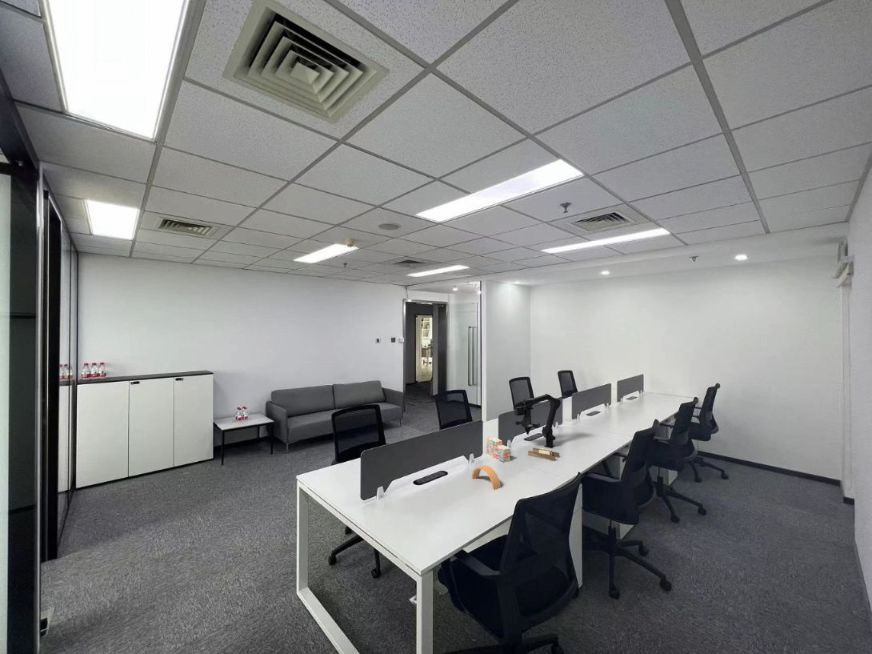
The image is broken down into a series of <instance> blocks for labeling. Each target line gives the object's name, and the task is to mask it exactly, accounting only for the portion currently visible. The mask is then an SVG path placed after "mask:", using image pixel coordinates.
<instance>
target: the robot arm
mask: <svg viewBox="0 0 872 654" xmlns="http://www.w3.org/2000/svg"><path fill="white" fill-rule="evenodd" d="M544 401H548V402H549V413H548V416H547V420H546V424H545V426H542V430H541V434H542V436H543V438H545V445H544V448H548V449H553V448H554V447H556V445H554V441H555V440H556V436H555V435H554V434H553V433H554V431H553V425H554V420H555V418H556V414H557V410H559V408H560V406H561V403H562V402H561V401H562V400H560V398H556V397H553V396H552V395H551V394H549V393H545V394H542V395H539V396H536V397H531V398H524V399H523V400H522V403H521V404H520V405H519V406H515V409H514V411H513V413H514V416H515V417H517V416H518V417H520V416H523V417H522V419H517V420H516V421H515V425H516V426H519V425H521V427H522V428H523V429H524V430H525V433H526V436H529V434H530V431H531V429H532V428H535V429H539V428H540V427H541V424H540V422H534V423H533V421H532V418H533V416H532V410H533V411H534V408H533V407H534V406H535V404H537V403H538V404H539V403H541V402H544Z"/></svg>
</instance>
